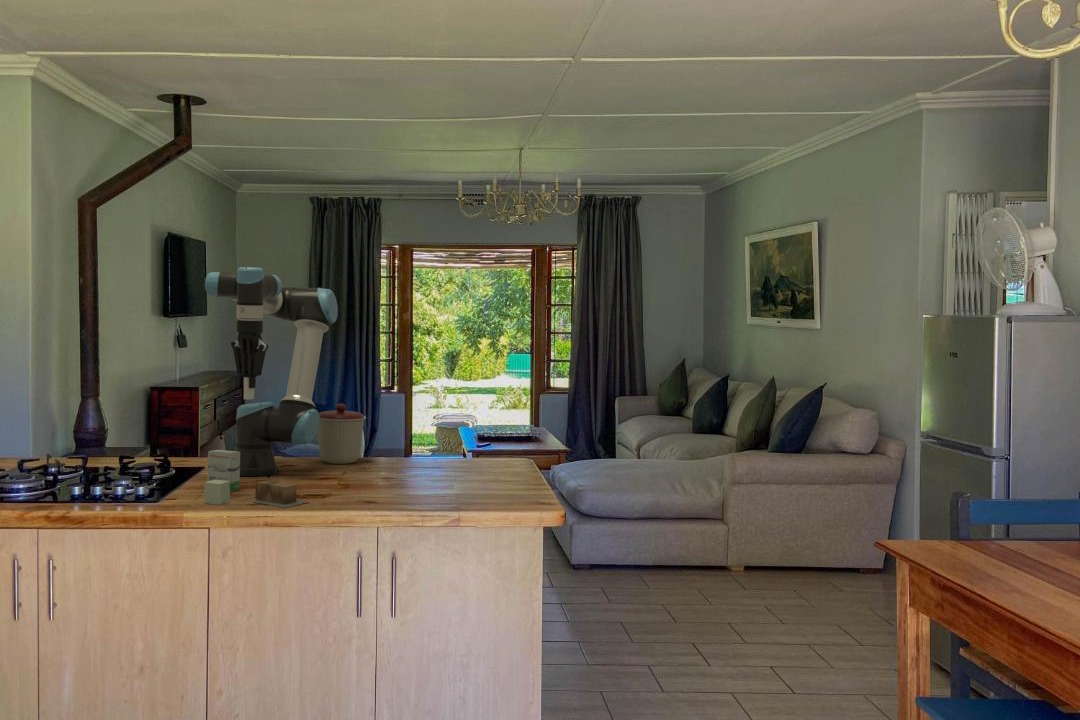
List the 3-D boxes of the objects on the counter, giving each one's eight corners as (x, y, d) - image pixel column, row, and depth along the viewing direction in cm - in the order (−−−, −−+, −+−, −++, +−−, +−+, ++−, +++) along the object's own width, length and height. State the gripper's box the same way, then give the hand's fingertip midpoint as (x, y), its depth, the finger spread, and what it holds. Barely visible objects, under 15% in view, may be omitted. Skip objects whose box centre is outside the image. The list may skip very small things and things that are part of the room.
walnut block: (255, 482, 297) (284, 487, 292) (268, 480, 301) (296, 484, 296) (255, 499, 297) (284, 504, 292) (267, 496, 302) (296, 501, 296)
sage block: (204, 503, 291) (204, 482, 291) (213, 500, 296) (214, 479, 296) (220, 504, 290) (220, 483, 290) (229, 501, 295) (230, 481, 294)
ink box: (240, 489, 312) (241, 451, 311) (230, 492, 307) (231, 453, 307) (216, 486, 315) (217, 448, 314) (206, 489, 310) (207, 450, 309)
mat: (253, 502, 294) (253, 501, 294) (277, 497, 303) (277, 496, 303) (284, 508, 289) (284, 507, 289) (308, 502, 297) (308, 501, 297)
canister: (339, 468, 356) (341, 407, 355) (302, 461, 366) (304, 402, 365) (375, 462, 371) (377, 404, 370) (338, 456, 381) (340, 399, 380)
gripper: (224, 318, 303) (223, 398, 305) (256, 321, 297) (255, 402, 299) (242, 318, 309) (242, 395, 311) (275, 320, 303) (274, 399, 305)
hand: (248, 398), depth 305 cm, fingers closed
